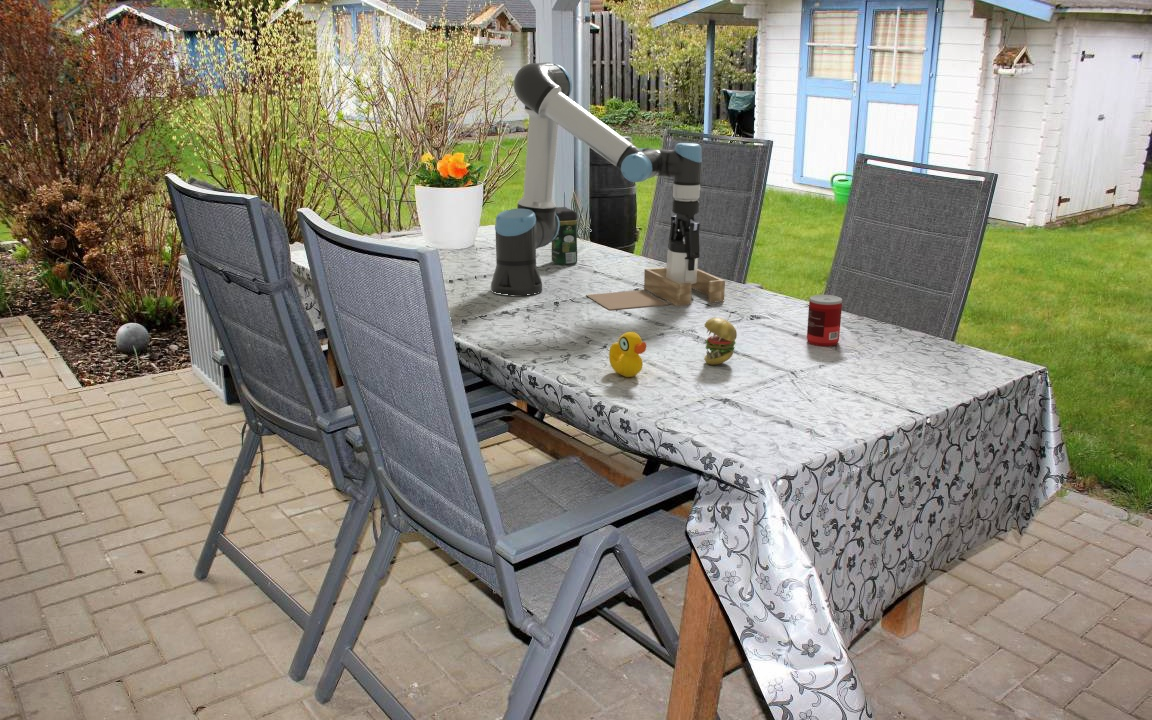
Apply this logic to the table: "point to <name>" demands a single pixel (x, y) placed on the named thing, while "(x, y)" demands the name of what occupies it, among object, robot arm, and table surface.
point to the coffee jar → (565, 238)
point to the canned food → (824, 320)
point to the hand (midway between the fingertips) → (682, 277)
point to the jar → (678, 262)
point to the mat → (627, 300)
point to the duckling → (627, 354)
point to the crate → (683, 286)
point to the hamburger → (720, 340)
